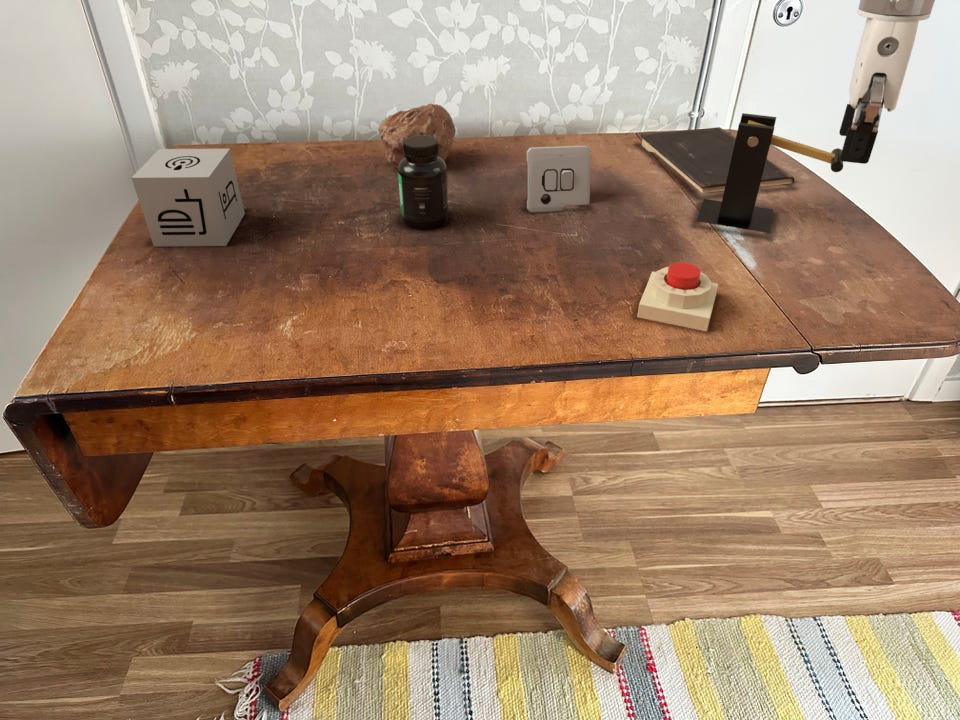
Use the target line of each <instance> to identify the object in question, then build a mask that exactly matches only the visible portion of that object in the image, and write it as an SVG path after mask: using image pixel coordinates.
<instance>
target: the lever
mask: <svg viewBox="0 0 960 720" xmlns="http://www.w3.org/2000/svg"><path fill="white" fill-rule="evenodd" d="M747 124H756V125H763V124H760V123H757V122H753V121H750V120H749V121H748V123H747ZM764 126H766V125H764ZM770 146H773V147H777V148H780V149H783V150H787V151H790V152H793V153H796V154H799V155H803V156H805V157H809V158H811V159H814V160H818V161H821V162H823V163H824V162H825V163H827V164H830V170H831V171H832V172H833V173H839V172H842V170H843V168H844V161H841V160H840V156H841V152H842V148H840V147H839V148H838V147H837V148H834V149H832V150H831V152H830V151H827V150H823V149H820V148H817V147H815V146H814V147H813V146H811V145H807V144H804V143H800V142H797V141H795V140H791V139H788V138H785V137H781V136H778V135H775V134H773V136H772V140H771V144H770Z"/></svg>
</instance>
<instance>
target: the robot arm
mask: <svg viewBox="0 0 960 720" xmlns="http://www.w3.org/2000/svg"><path fill="white" fill-rule="evenodd" d="M935 2H936V0H860V1H859V4H858V8H857V11H856V13H857V15H859V16H861V17H864V18H866V19H865V22H864V26H863V30H862V33H861V36H860V40H859V44H858V48H857V52H856V56H855V60H854V62H853V63H854V65H853V68H852V71H851V72H852V73H851V78H850V83H849V89H848V93H849V94H848V95H849V103H847V104H846V107H845V110H844V114H843V117H842V121H841V124H840V129H839V132H838V133H839V135H840V136H841V137H845V139H844V143H843V146H842V148H841V150H842V152H841V156H840V160H841V161H843V163H852V164H853V163H854V164H862V165H866V164H868V163H869V162H870V159H871V155H872V153H873V149H874V145H875V142H876V139H877V136H878V134H879V127H880V122H881V117H882V112H883V108H884V109H886V111H887V112H888V113H890V112H892V111H895V110H896V108H897V104H898V101H899V97H900V93H901V90H902V86H903V83H904V80H905V77H906V72H907V70H908V65H909V63H910V59H911V56H912V52H913V48H914V44H915V41H916V36H917V32H918V27H919V22H920V21H925V20H928V19H930V17H931V15H932V10H933V7H934V5H935Z"/></svg>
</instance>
